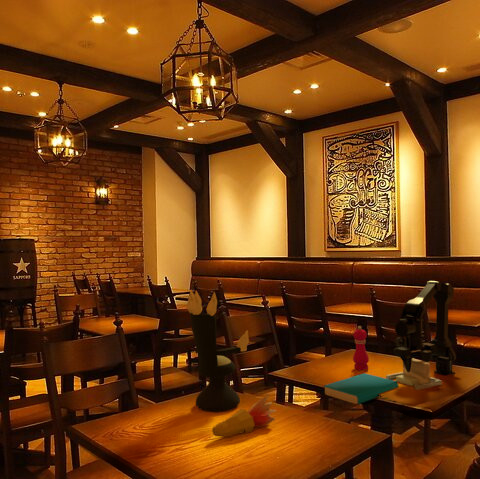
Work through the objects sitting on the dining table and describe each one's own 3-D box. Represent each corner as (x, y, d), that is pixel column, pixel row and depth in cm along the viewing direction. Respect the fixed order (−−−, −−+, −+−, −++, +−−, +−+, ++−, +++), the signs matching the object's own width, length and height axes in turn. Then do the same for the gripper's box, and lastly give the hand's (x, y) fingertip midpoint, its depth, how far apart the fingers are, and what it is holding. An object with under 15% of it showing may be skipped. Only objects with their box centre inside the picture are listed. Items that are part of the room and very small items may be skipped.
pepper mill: (371, 367, 228) (369, 325, 228) (366, 371, 222) (364, 327, 222) (356, 365, 232) (354, 324, 232) (351, 369, 226) (349, 326, 226)
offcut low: (402, 383, 203) (401, 379, 203) (420, 390, 194) (420, 385, 194) (394, 385, 202) (394, 380, 202) (413, 391, 193) (412, 386, 193)
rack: (409, 377, 210) (409, 370, 210) (441, 387, 194) (441, 380, 194) (386, 382, 204) (386, 375, 204) (417, 393, 189) (416, 385, 189)
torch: (214, 451, 152) (272, 420, 168) (226, 447, 146) (285, 415, 162) (204, 426, 154) (262, 398, 170) (215, 420, 149) (274, 392, 164)
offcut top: (401, 379, 203) (401, 374, 203) (417, 384, 196) (417, 379, 196) (396, 381, 201) (395, 376, 201) (411, 385, 194) (411, 380, 194)
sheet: (408, 380, 206) (408, 356, 206) (430, 387, 195) (429, 363, 195) (403, 381, 205) (402, 357, 205) (425, 389, 194) (424, 364, 194)
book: (323, 385, 192) (363, 372, 207) (324, 396, 192) (364, 382, 207) (358, 395, 178) (398, 380, 194) (359, 407, 179) (398, 391, 194)
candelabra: (252, 402, 186) (248, 285, 186) (218, 421, 167) (214, 291, 167) (213, 394, 196) (209, 284, 196) (177, 412, 177) (172, 289, 177)
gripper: (417, 327, 212) (418, 363, 212) (383, 332, 204) (385, 369, 204) (437, 331, 201) (438, 369, 201) (403, 337, 194) (404, 375, 194)
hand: (416, 370), depth 200 cm, fingers open, 8 cm apart
